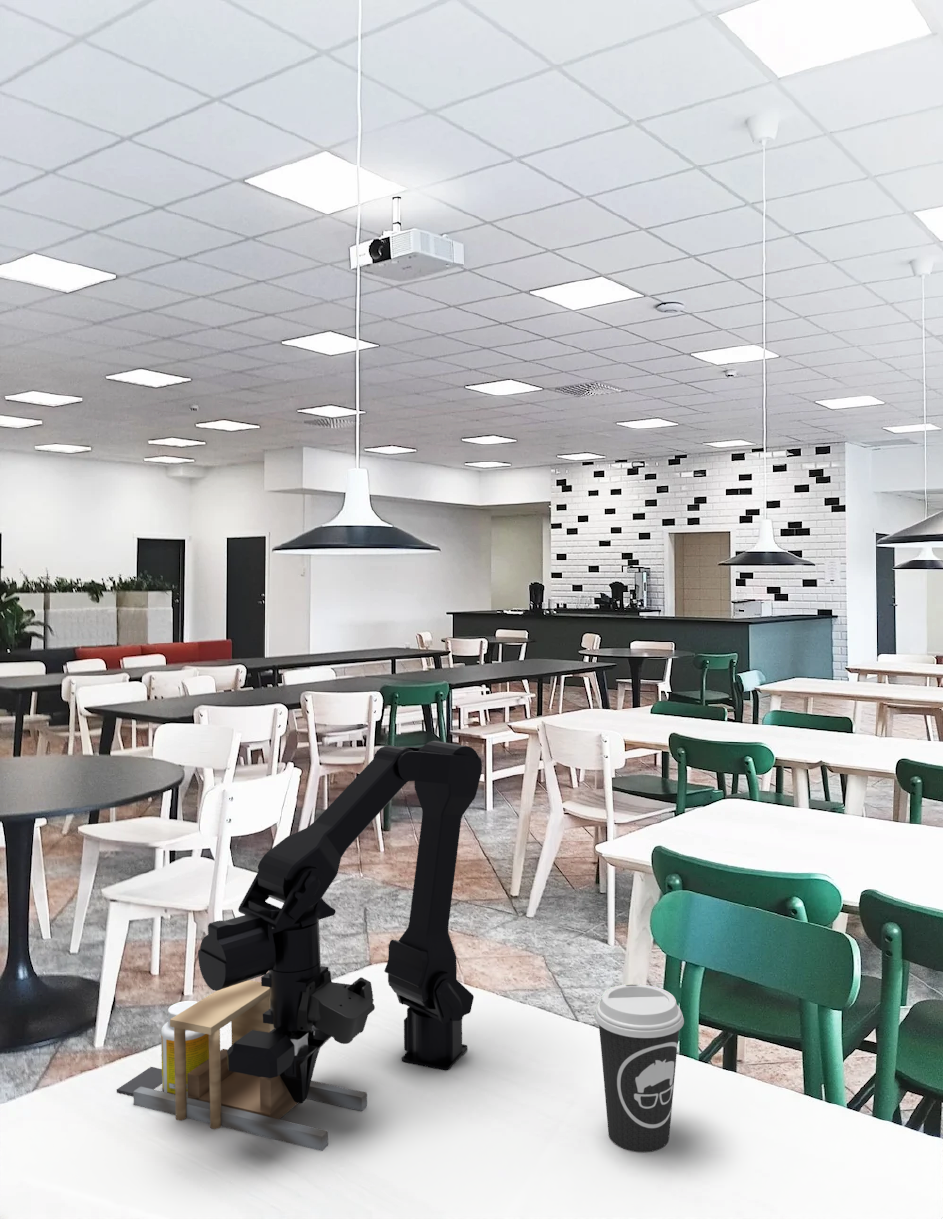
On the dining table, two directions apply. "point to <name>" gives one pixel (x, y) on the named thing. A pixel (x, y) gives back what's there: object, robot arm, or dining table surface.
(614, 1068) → the coffee cup
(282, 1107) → the sled
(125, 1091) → the pad
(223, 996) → the tunnel track
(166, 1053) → the supplement bottle
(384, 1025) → the dining table surface
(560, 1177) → the dining table surface
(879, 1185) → the dining table surface
